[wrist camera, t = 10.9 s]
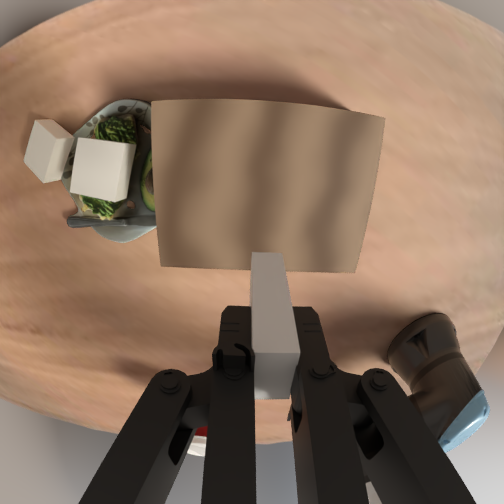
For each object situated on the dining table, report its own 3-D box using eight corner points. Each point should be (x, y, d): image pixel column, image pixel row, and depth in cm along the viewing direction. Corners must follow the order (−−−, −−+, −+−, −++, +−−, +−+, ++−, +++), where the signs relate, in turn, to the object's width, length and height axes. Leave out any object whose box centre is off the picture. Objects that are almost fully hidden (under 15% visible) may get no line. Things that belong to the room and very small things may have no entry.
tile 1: (78, 137, 25) (91, 138, 28) (69, 192, 27) (83, 188, 30) (125, 143, 25) (136, 144, 28) (115, 202, 27) (126, 198, 30)
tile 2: (74, 137, 28) (56, 138, 25) (60, 179, 31) (43, 183, 28) (52, 119, 28) (35, 119, 25) (39, 158, 31) (23, 161, 28)
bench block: (351, 111, 30) (385, 117, 22) (333, 234, 37) (355, 272, 30) (175, 100, 29) (151, 101, 21) (178, 228, 37) (160, 266, 29)
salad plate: (104, 263, 40) (92, 281, 36) (41, 164, 32) (21, 173, 28) (216, 205, 36) (212, 220, 32) (147, 80, 28) (132, 78, 24)
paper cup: (179, 388, 54) (170, 447, 42) (202, 373, 51) (194, 438, 39) (209, 403, 57) (205, 459, 44) (233, 390, 54) (231, 451, 42)
